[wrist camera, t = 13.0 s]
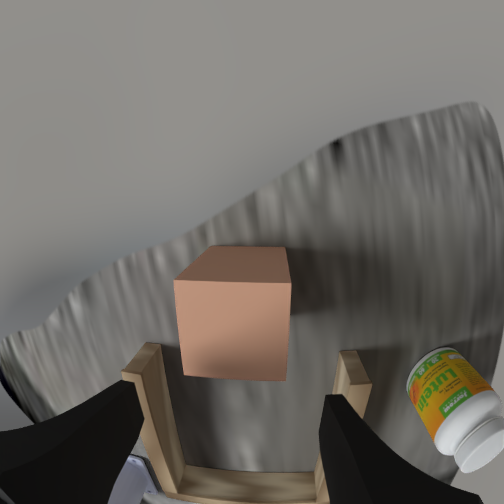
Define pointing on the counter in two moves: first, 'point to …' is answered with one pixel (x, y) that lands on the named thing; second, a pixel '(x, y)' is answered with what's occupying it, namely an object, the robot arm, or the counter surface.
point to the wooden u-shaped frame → (216, 480)
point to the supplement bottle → (457, 408)
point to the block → (235, 313)
